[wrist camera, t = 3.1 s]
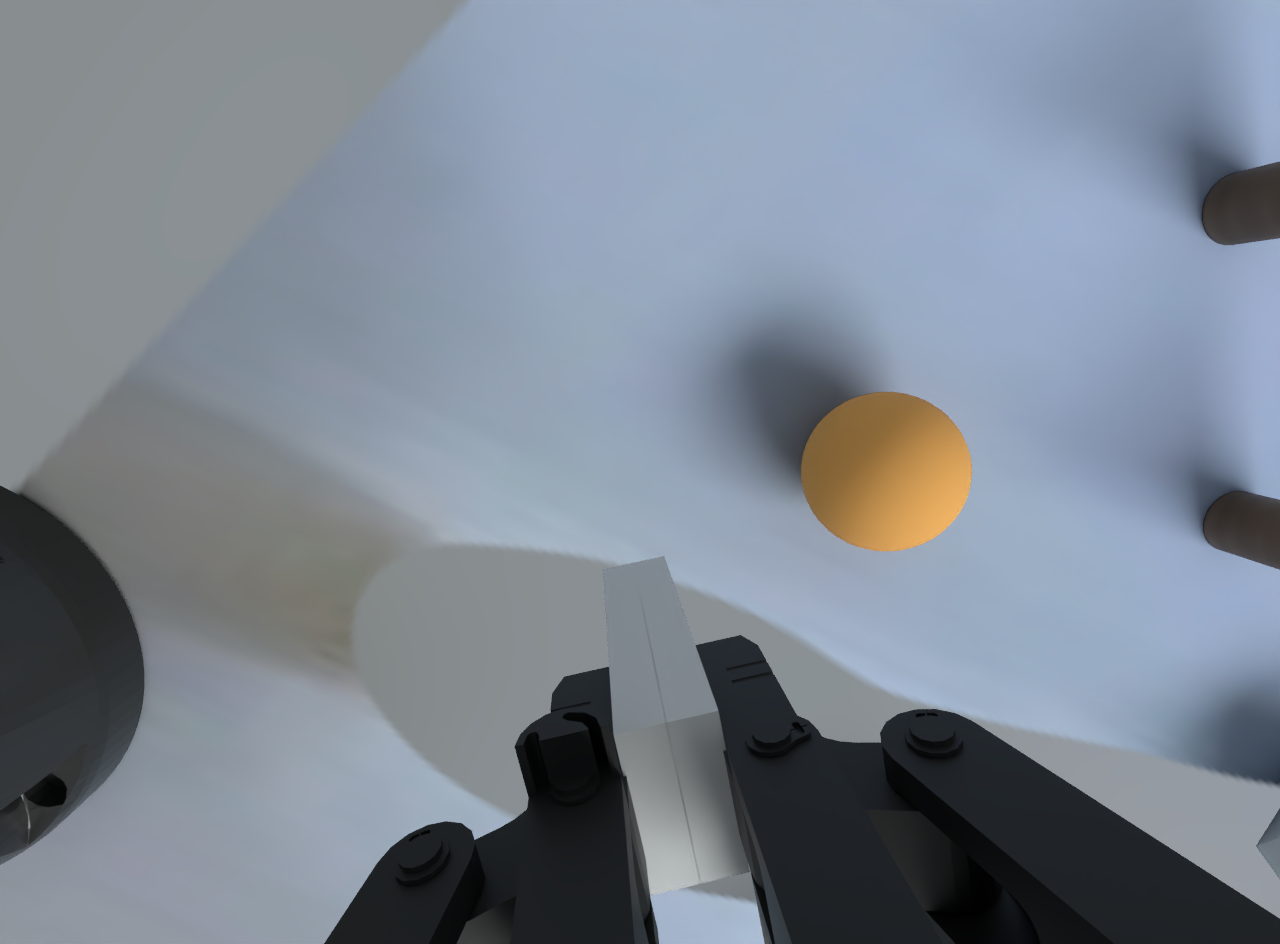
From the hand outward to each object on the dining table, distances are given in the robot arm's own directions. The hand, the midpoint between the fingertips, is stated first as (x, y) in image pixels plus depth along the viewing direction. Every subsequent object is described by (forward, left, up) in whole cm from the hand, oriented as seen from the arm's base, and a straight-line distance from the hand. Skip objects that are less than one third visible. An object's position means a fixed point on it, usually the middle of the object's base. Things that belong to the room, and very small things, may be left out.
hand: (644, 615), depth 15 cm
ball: (+9, 0, -7) cm, 11 cm away
